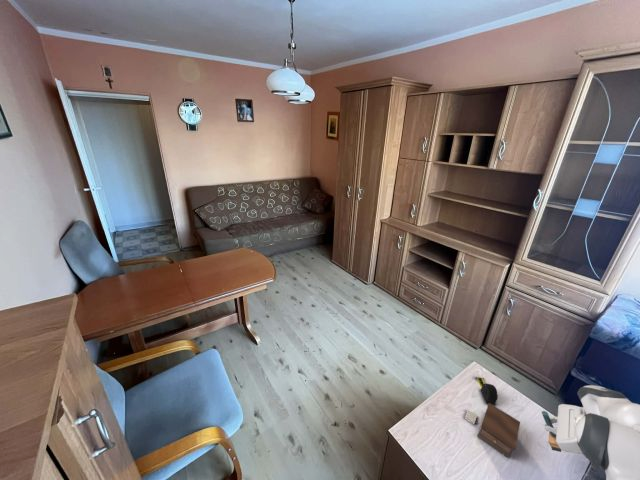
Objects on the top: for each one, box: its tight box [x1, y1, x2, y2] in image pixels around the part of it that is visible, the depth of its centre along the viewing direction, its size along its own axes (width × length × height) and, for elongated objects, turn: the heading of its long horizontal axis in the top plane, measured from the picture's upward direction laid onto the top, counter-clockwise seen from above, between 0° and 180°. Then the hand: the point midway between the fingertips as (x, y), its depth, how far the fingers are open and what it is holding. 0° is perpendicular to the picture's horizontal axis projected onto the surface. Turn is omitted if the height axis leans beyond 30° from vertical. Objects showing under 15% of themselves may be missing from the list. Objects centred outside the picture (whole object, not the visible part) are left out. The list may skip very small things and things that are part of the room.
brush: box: [541, 410, 562, 453], centre depth 107 cm, size 8×3×13 cm
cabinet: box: [476, 403, 521, 458], centre depth 118 cm, size 15×13×8 cm
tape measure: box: [475, 376, 499, 406], centre depth 137 cm, size 15×4×8 cm, turn 171°
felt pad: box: [464, 410, 478, 425], centre depth 126 cm, size 4×4×2 cm
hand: (545, 424), depth 108 cm, fingers closed on brush, 2 cm apart
